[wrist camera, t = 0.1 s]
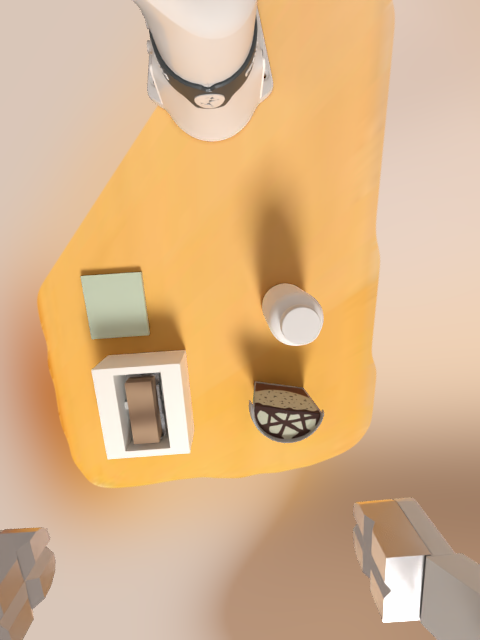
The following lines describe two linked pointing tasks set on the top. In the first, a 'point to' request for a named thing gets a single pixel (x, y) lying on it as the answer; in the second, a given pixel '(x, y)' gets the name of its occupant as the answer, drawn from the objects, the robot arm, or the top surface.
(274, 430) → the food container
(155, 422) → the walnut slab
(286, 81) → the top surface
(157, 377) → the cradle
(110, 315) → the sage pad
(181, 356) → the pocket jig
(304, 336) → the pill bottle
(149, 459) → the top surface
